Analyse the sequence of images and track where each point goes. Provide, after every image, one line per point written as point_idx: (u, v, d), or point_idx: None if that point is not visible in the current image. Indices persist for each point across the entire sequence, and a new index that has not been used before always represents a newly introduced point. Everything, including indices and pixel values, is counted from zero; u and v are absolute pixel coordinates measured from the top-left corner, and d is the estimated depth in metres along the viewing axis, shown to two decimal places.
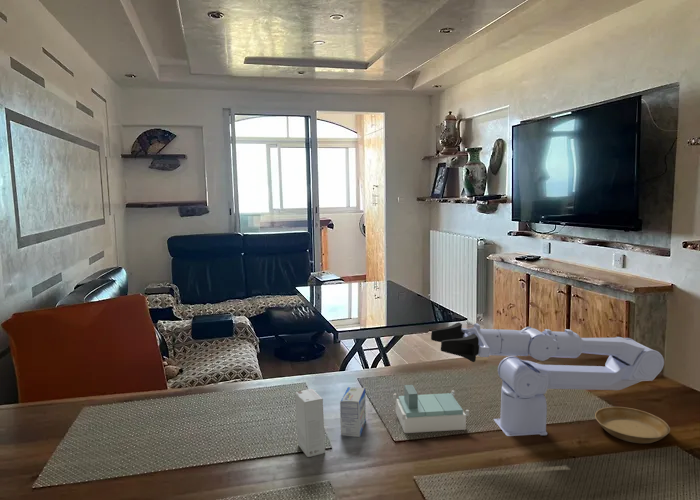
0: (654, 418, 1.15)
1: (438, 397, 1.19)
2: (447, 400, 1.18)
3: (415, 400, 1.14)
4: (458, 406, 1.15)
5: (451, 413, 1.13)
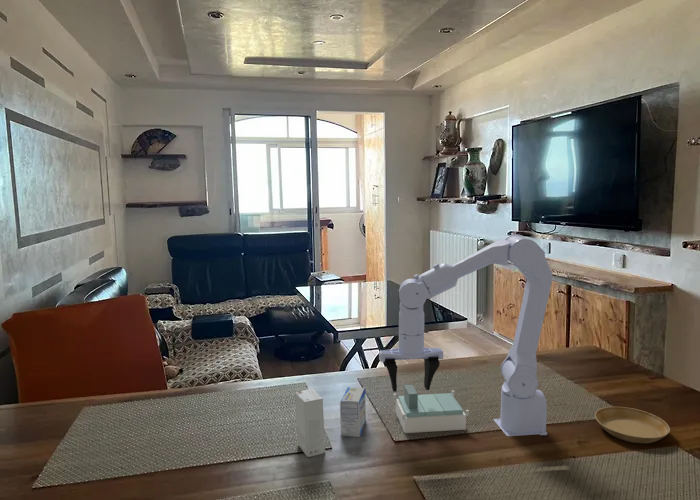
0: (654, 417, 1.15)
1: (438, 397, 1.19)
2: (447, 400, 1.18)
3: (415, 400, 1.14)
4: (458, 406, 1.15)
5: (451, 413, 1.13)
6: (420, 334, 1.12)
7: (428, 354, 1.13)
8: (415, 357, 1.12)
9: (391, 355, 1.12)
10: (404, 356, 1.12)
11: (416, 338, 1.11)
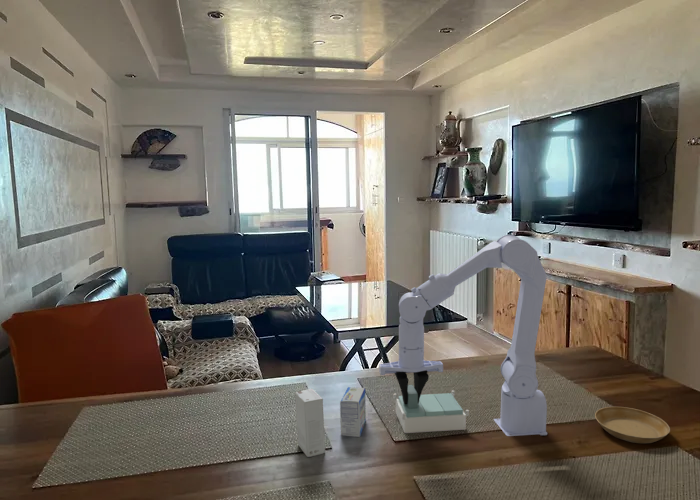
0: (654, 418, 1.15)
1: (438, 397, 1.19)
2: (447, 400, 1.18)
3: (415, 400, 1.14)
4: (458, 406, 1.15)
5: (451, 413, 1.13)
6: (420, 348, 1.12)
7: (428, 367, 1.13)
8: (415, 371, 1.12)
9: (391, 369, 1.13)
10: (404, 370, 1.12)
11: (416, 352, 1.12)
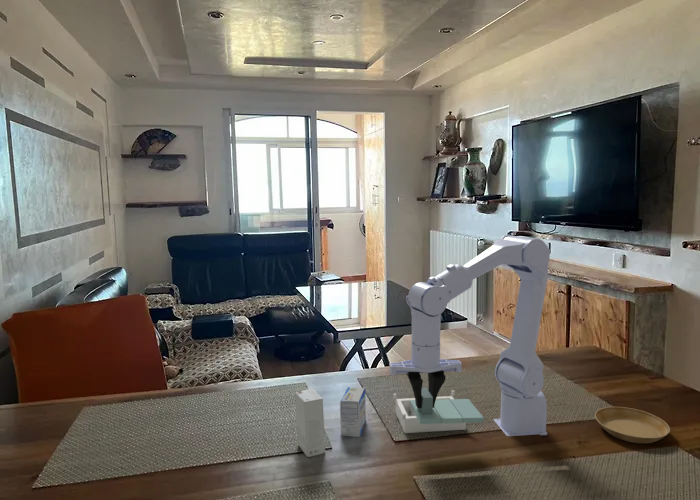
0: (654, 418, 1.15)
1: (455, 403, 1.06)
2: (465, 406, 1.05)
3: (430, 404, 1.01)
4: (478, 413, 1.02)
5: (470, 421, 1.00)
6: (436, 345, 0.99)
7: (445, 367, 1.00)
8: (430, 371, 0.99)
9: (403, 368, 1.00)
10: (418, 369, 0.99)
11: (431, 349, 0.98)
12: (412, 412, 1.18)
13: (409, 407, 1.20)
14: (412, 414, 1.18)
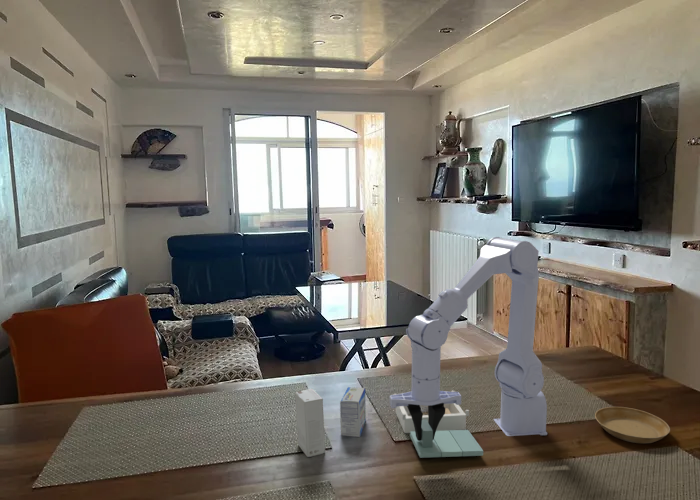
0: (654, 418, 1.15)
1: (455, 434, 1.07)
2: (465, 438, 1.06)
3: (430, 438, 1.01)
4: (477, 446, 1.02)
5: (470, 454, 1.00)
6: (436, 378, 0.99)
7: (445, 400, 1.01)
8: (430, 404, 0.99)
9: (403, 401, 1.00)
10: (418, 402, 1.00)
11: (431, 383, 0.99)
12: None
13: None
14: None
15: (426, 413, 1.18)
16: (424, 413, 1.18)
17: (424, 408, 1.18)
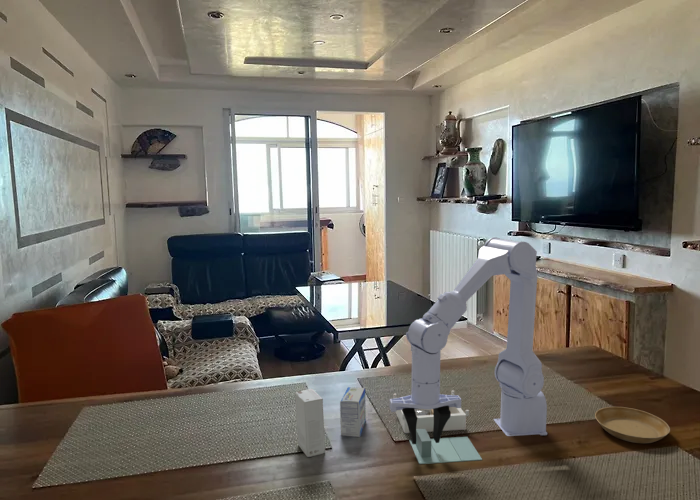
0: (654, 418, 1.15)
1: (454, 442, 1.07)
2: (464, 446, 1.06)
3: (429, 447, 1.01)
4: (476, 454, 1.03)
5: None
6: (436, 382, 1.00)
7: (445, 403, 1.01)
8: (430, 407, 1.00)
9: (403, 405, 1.00)
10: (418, 406, 1.00)
11: (431, 386, 0.99)
12: None
13: None
14: None
15: None
16: None
17: None
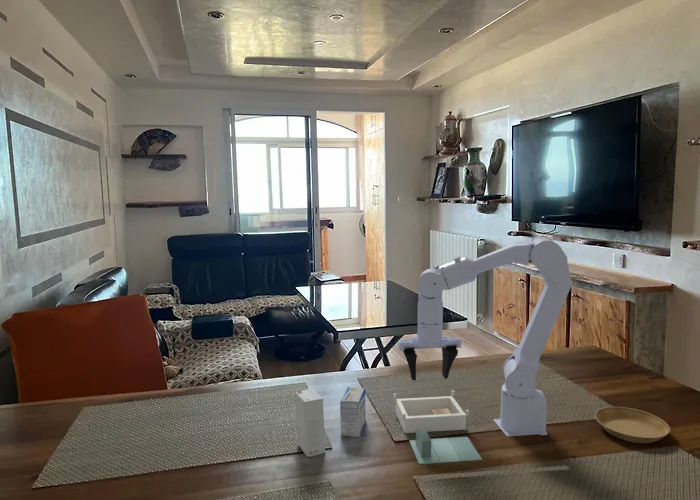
0: (654, 418, 1.15)
1: (454, 442, 1.07)
2: (464, 446, 1.06)
3: (429, 447, 1.01)
4: (476, 454, 1.03)
5: None
6: (439, 323, 1.13)
7: (447, 343, 1.15)
8: (434, 346, 1.13)
9: (410, 344, 1.14)
10: (423, 345, 1.14)
11: (435, 327, 1.13)
12: None
13: None
14: None
15: None
16: None
17: None
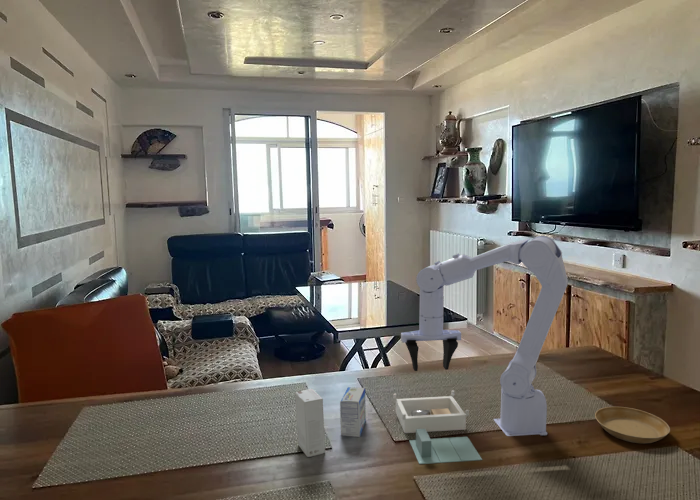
0: (654, 417, 1.15)
1: (454, 442, 1.07)
2: (464, 446, 1.06)
3: (429, 447, 1.01)
4: (476, 454, 1.03)
5: None
6: (440, 316, 1.19)
7: (447, 335, 1.20)
8: (435, 338, 1.19)
9: (412, 336, 1.20)
10: (425, 337, 1.19)
11: (436, 320, 1.18)
12: None
13: (413, 415, 1.16)
14: None
15: None
16: None
17: None
